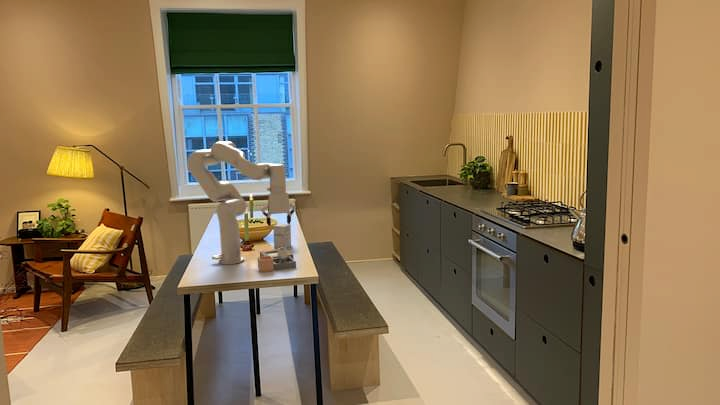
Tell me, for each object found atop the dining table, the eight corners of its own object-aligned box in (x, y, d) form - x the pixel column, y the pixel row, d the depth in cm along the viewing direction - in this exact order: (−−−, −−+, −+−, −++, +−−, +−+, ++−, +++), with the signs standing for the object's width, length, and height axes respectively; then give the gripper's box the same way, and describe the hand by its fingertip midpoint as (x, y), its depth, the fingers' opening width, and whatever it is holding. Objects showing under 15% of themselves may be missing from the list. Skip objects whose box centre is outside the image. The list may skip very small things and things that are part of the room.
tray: (274, 270, 258) (274, 264, 258) (269, 264, 268) (269, 259, 267) (296, 267, 262) (295, 261, 262) (289, 262, 272) (289, 256, 271)
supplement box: (273, 247, 303) (272, 225, 301) (280, 244, 309) (279, 223, 307) (285, 248, 300) (284, 226, 298) (291, 245, 307) (290, 223, 305)
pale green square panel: (270, 259, 273) (270, 257, 273) (265, 255, 281) (265, 253, 281) (287, 257, 276) (287, 255, 276) (282, 253, 285) (282, 251, 284)
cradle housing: (266, 263, 270) (266, 257, 269) (260, 257, 283) (259, 251, 282) (293, 260, 275) (293, 254, 275) (285, 254, 288) (285, 248, 288)
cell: (279, 266, 262) (278, 249, 261) (277, 264, 266) (276, 247, 265) (288, 265, 264) (287, 248, 263) (285, 263, 268) (285, 246, 267)
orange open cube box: (261, 272, 255) (260, 260, 254) (257, 269, 260) (257, 257, 259) (274, 270, 257) (273, 258, 256) (270, 267, 263) (270, 255, 262)
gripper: (261, 191, 253) (263, 227, 256) (297, 189, 260) (298, 224, 263) (258, 189, 260) (259, 224, 263) (293, 187, 267) (294, 221, 270)
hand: (279, 224), depth 263 cm, fingers open, 9 cm apart
